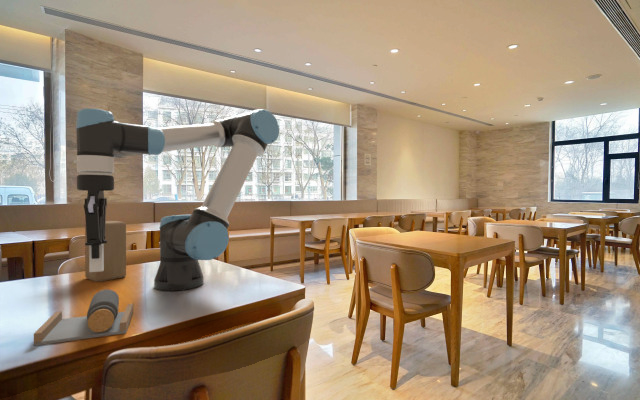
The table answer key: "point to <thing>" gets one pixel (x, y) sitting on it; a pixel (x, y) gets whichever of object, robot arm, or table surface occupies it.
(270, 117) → the robot arm
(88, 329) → the grey tray
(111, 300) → the bottle
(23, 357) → the table surface
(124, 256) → the wooden block
